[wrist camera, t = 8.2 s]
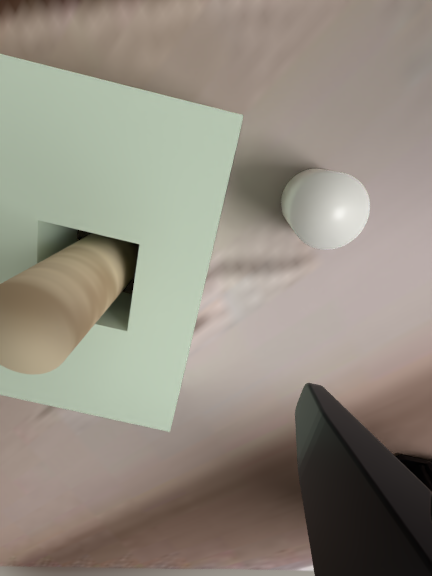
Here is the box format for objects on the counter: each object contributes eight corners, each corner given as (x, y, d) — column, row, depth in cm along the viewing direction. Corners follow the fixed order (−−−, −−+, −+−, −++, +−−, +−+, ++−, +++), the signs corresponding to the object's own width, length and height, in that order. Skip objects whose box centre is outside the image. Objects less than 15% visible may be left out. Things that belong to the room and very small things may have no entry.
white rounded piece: (330, 237, 20) (352, 257, 16) (273, 224, 20) (281, 240, 16) (353, 176, 18) (382, 182, 15) (291, 161, 18) (305, 163, 15)
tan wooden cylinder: (139, 285, 22) (67, 383, 13) (86, 272, 22) (-27, 362, 12) (147, 233, 20) (72, 300, 11) (90, 219, 20) (-33, 276, 11)
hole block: (181, 384, 25) (169, 431, 20) (22, 349, 24) (-22, 389, 20) (241, 124, 18) (243, 114, 14) (21, 68, 17) (-47, 41, 13)
